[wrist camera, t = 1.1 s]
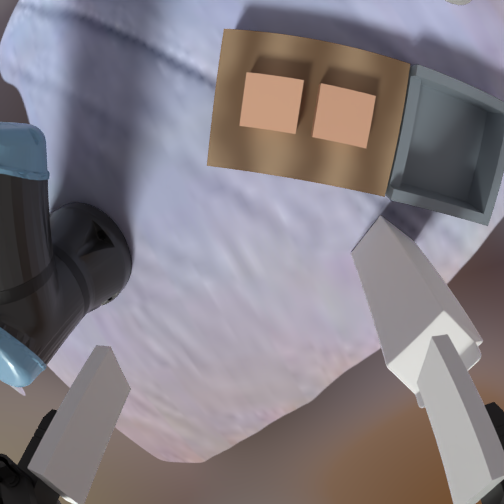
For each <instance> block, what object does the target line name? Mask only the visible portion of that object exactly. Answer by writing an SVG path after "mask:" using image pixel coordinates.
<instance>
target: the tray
mask: <svg viewBox="0 0 504 504" xmlns="http://www.w3.org/2000/svg"><path fill="white" fill-rule="evenodd" d="M503 173H504V102H503V101H501V100H499V99H497V98H495V97H493V96H491V95H489V94H487V93H485V92H483V91H481V90H479V89H477V88H475V87H473V86H470V85H468V84H466V83H464V82H462V81H459V80H457V79H455V78H452V77H450V76H447V75H445V74H442V73H440V72H437V71H435V70H432V69H429V68H427V67H424V66H421V65H418V64H417V65H413V66H410V70H409V77H408V84H407V90H406V97H405V103H404V109H403V114H402V120H401V125H400V130H399V135H398V140H397V145H396V150H395V155H394V159H393V164H392V168H391V172H390V177H389V181H388V185H387V189H386V193H385V195H386V196H387V197H388V198H389V199H390V200H391V201H396V202H400V203H404V204H408V205H412V206H416V207H420V208H424V209H428V210H432V211H436V212H440V213H444V214H447V215H451V216H455V217H458V218H462V219H465V220H469V221H472V222H476V223H479V224H483V225H486V226H488V224H489V221H490V218H491V215H492V212H493V208H494V205H495V202H496V198H497V195H498V191H499V188H500V184H501V180H502V177H503Z"/></svg>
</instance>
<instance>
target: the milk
mask: <svg viewBox="0 0 504 504" xmlns="http://www.w3.org/2000/svg"><path fill="white" fill-rule="evenodd" d="M351 256H352V259H353V262H354V264H355V267H356V270H357V273H358V276H359V279H360V282H361V285H362V288H363V291H364V294H365V297H366V300H367V303H368V306H369V309H370V312H371V315H372V318H373V322H374V325H375V328H376V331H377V335H378V338H379V342H380V345H381V348H382V352H383V355H384V359H385V362H386V365H387V367H388V368H389V369H390V370H391V371H392V372H393V373H394V374H395V375H396V376H397V377H398V378H399V379H400V380H401V381H402V382H403V383H404V384H405V385H406V386H407V387H408V388H409V389H410V390H411V391H412V392H413V393H414V394H415V395H416V398H417V402H418V405H419V407H421V408H423V407H425V405H424V402H423V399H422V396H421V393H420V391H419V388H418V385H417V380H418V377H419V374H420V371H421V368H422V365H423V362H424V359H425V356H426V353H427V350H428V347H429V344H430V340H431V337H432V336H438V335H445V334H448V336H449V337H450V339H451V341H452V343H453V345H454V346H455V348H456V350H457V352H458V354H459V356H460V358H461V359H462V361H463V363H464V365H465V367H466V369H467V371H468V370H469V369H470V368H471V367H472V366H473V365H475V364H476V363H477V362H478V361H479V360H480V358H481V351H480V350H479V348H478V346H479V345H480V344H481V343H482V342H483V339H482V338H481V336H480V334H479V333H478V331H477V330H476V328H475V326H474V325H473V323H472V322H471V320H470V319H469V317H468V316H467V314H466V312H465V311H464V309H463V308H462V307H461V305H460V303H459V302H458V300H457V299H456V297H455V296H454V295H453V293H452V292H451V290H450V289H449V288H448V286H447V284H446V283H445V282H444V280H443V279H442V277H441V276H440V275H439V273H438V272H437V271H436V269H435V268H434V267H433V265H432V264H431V263H430V261H429V260H428V259H427V257H426V256H425V255H424V253H423V252H422V251H421V249H420V248H419V247H418V245H417V244H416V243H415V242H414V241H413V240H412V239H411V238H409V237H408V236H407V235H406V234H404V233H403V232H402V231H401V230H399V229H398V228H397V227H395V226H394V225H393V224H391V223H390V222H389V221H388V220H386V219H385V218H384V217H382V216H379V218H378V219H377V220H376V222H375V223H374V224H373V225H372V227H371V228H370V229H369V231H368V232H367V233H366V234H365V236H364V237H363V238H362V240H361V241H360V242H359V243H358V245H357V246H356V247H355V248H354V250H353V251H352V252H351Z"/></svg>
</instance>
